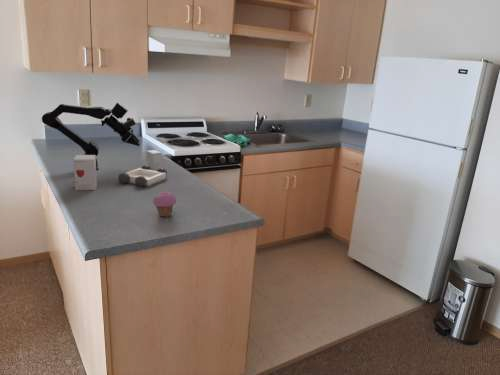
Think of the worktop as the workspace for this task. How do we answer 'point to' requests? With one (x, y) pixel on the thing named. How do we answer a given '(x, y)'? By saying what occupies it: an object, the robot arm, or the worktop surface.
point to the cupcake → (164, 203)
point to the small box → (154, 159)
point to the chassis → (143, 176)
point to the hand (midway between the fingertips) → (139, 143)
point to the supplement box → (85, 172)
